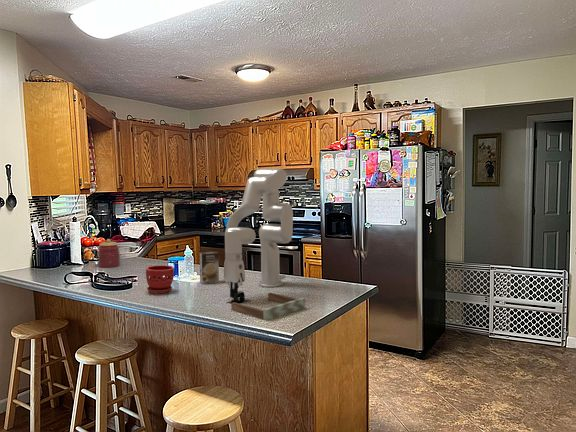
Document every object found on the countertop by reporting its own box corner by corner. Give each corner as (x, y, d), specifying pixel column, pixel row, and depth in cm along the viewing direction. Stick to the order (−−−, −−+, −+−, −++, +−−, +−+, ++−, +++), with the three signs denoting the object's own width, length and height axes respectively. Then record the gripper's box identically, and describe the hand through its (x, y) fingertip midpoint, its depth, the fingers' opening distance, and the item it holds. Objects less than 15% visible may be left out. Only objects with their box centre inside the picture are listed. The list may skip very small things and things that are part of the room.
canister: (116, 263, 288) (115, 237, 286) (123, 266, 278) (122, 239, 276) (95, 265, 279) (94, 238, 278) (101, 268, 269) (100, 240, 268)
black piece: (244, 298, 199) (243, 288, 199) (254, 301, 194) (255, 291, 194) (223, 303, 190) (223, 293, 190) (234, 306, 185) (234, 296, 185)
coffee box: (201, 284, 225) (201, 253, 224) (199, 281, 231) (199, 252, 230) (219, 282, 229) (218, 252, 228) (216, 280, 235) (216, 251, 234)
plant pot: (151, 296, 202) (151, 270, 201) (142, 290, 212) (142, 266, 212) (178, 292, 209) (177, 267, 209) (168, 287, 220) (168, 263, 219)
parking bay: (270, 299, 196) (270, 290, 195) (305, 307, 182) (305, 298, 181) (231, 310, 179) (231, 300, 178) (266, 320, 165) (266, 310, 164)
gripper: (250, 257, 191) (251, 298, 192) (229, 254, 201) (229, 292, 203) (237, 259, 186) (238, 301, 187) (216, 256, 196) (217, 295, 197)
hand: (233, 297), depth 195 cm, fingers closed
